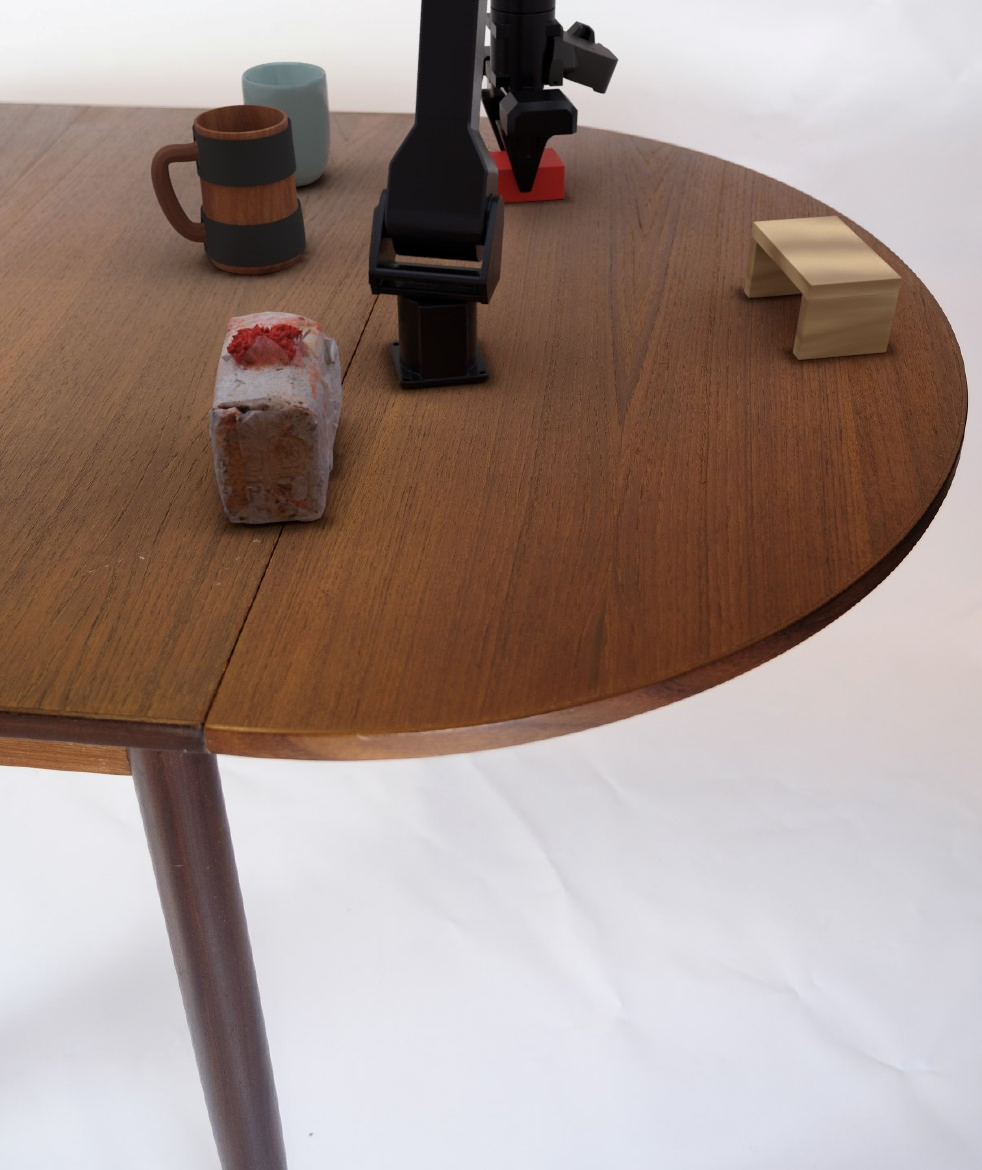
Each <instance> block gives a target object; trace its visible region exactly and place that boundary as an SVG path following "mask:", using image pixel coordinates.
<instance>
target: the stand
mask: <svg viewBox="0 0 982 1170" xmlns="http://www.w3.org/2000/svg"><path fill="white" fill-rule="evenodd" d="M748 252H749V253H748V258H747V267H746V274H745V282H744V290H743V293H744V294H745V295H746V297H747V298H748V299H754V298H755V299H756V298H766V297H779V296H792V295H801V300H800V305H799V306H800V307H799V313H798V318H797V324H796V331H795V336H794V342H793V343H794V344H793V348H792V354H793V355H794V357H796V359H797V360H798V361H803V360H805V361H806V360H813V359H816V360H817V359H826V358H837V357H838V358H839V357H849V356H858V355H870V354H882V353H887V349H888V345H889V340H890V335H891V332H892V326H893V322H894V318H895V312H896V308H897V303H898V298H899V293H900V289H901V283H902V281H903V279H902V278H903V277H902V276H901V275H900V274H899V273H898V272H896V271H895V270H894V269H893V268H892V266H890V265H889V264H888V263H887V262H886V261H885V260H884V259H883V258H882V257H881V256H880V255H878V254H877V253H876V252H875V250H874V249H872V248H871V247H870V246H869V245H868V244H867V243H866V242H865V241H864V240H863V239H861V237H859V236H858V234H857V233H855V232H854V231H853V230H852V229H851V228H850V227H849V226H848V225H847V224H846V223H845V222H844V221H842V219H840V217H838V216H837V215H832V216H831V215H829V216H827V215H826V216H814V217H813V216H812V217H801V218H800V217H799V218H787V219H772V220H760V221H759V220H757V221H753V223H752V229H751V238H750V244H749V251H748Z"/></svg>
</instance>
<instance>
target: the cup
mask: <svg viewBox="0 0 982 1170" xmlns="http://www.w3.org/2000/svg"><path fill="white" fill-rule="evenodd" d="M241 93H242V103H243V105H262V106H269V107H273V108H277V109H280V110H282V111H283V112H285V113H286V115H287V117H289V118H290V120H291V126H292V135H293V144H294V152H295V159H296V171H295V172H294V175H295V184H296V188H297V187H304V186H308V185H311V184H312V183H315V182H316V181H317V180H318V179H320V178H321V177H322V176H323V174H324V173H325V171H326V169H327V166H328V164H329V163H328V162H329V159H330V152H331V151H330V150H331V116H330V99H329V87H328V79H327V73H326V71H325V69H324V68H323V67H322V66H320V65H316V64H313V63H307V62H301V61H299V62H298V61H274V62H265V63H261V64H257V65H254V66H251V67H249V68H247V69H245V71H243V73H242V75H241Z"/></svg>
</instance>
